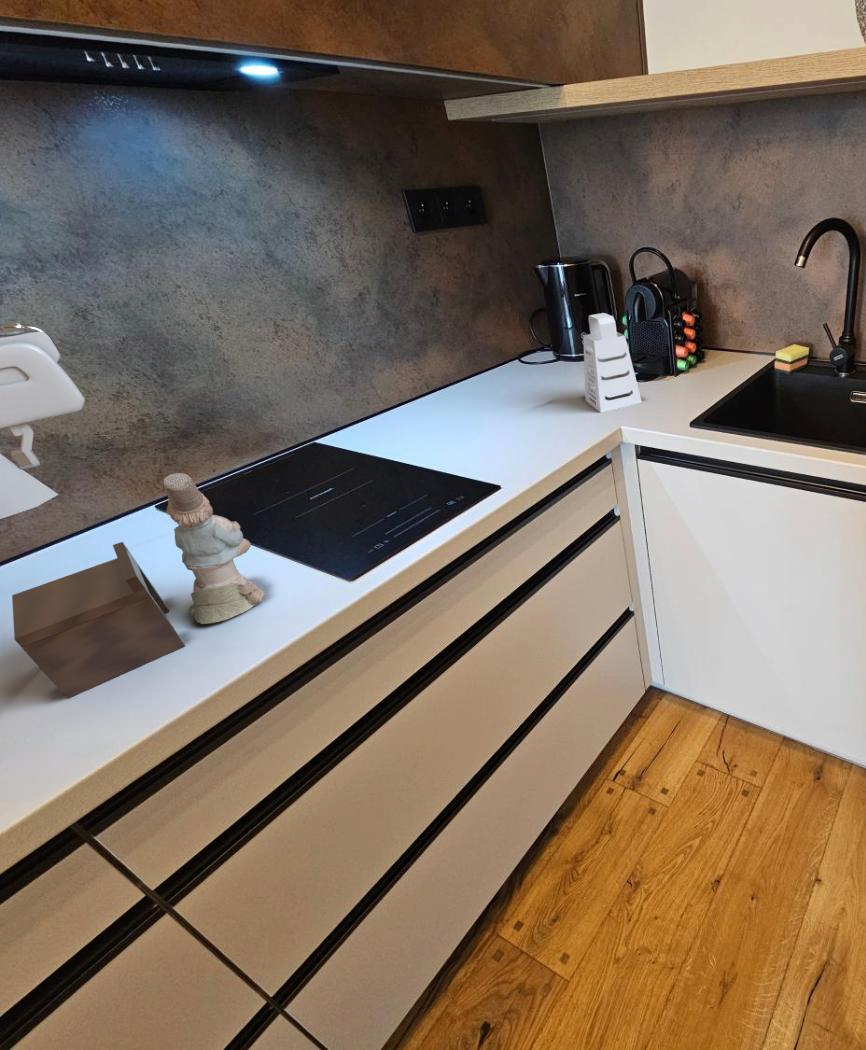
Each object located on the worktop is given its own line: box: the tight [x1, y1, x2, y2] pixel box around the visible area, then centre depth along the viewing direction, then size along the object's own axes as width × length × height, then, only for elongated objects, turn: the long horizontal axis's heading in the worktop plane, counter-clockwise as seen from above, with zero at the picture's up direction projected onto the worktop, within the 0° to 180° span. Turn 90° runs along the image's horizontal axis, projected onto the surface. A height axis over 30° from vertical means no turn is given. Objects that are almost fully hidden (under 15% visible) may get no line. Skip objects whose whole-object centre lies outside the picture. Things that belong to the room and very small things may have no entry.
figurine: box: [162, 472, 266, 625], centre depth 74 cm, size 9×8×20 cm
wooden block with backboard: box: [11, 541, 186, 700], centre depth 70 cm, size 11×12×11 cm
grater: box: [582, 312, 643, 414], centre depth 136 cm, size 10×10×20 cm
